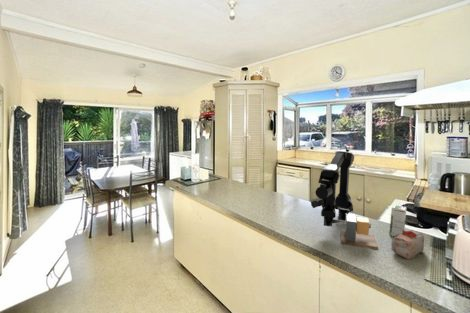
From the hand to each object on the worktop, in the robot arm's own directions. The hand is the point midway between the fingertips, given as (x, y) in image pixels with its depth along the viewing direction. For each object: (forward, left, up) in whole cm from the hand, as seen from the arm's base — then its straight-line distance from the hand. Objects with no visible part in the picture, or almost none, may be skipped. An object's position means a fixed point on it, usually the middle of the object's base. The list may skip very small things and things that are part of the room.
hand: (328, 224), depth 119 cm
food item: (+5, +32, -6) cm, 33 cm away
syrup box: (-13, +32, -6) cm, 35 cm away
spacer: (0, +15, -1) cm, 15 cm away
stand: (0, +14, -6) cm, 15 cm away
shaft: (0, +8, 0) cm, 8 cm away
